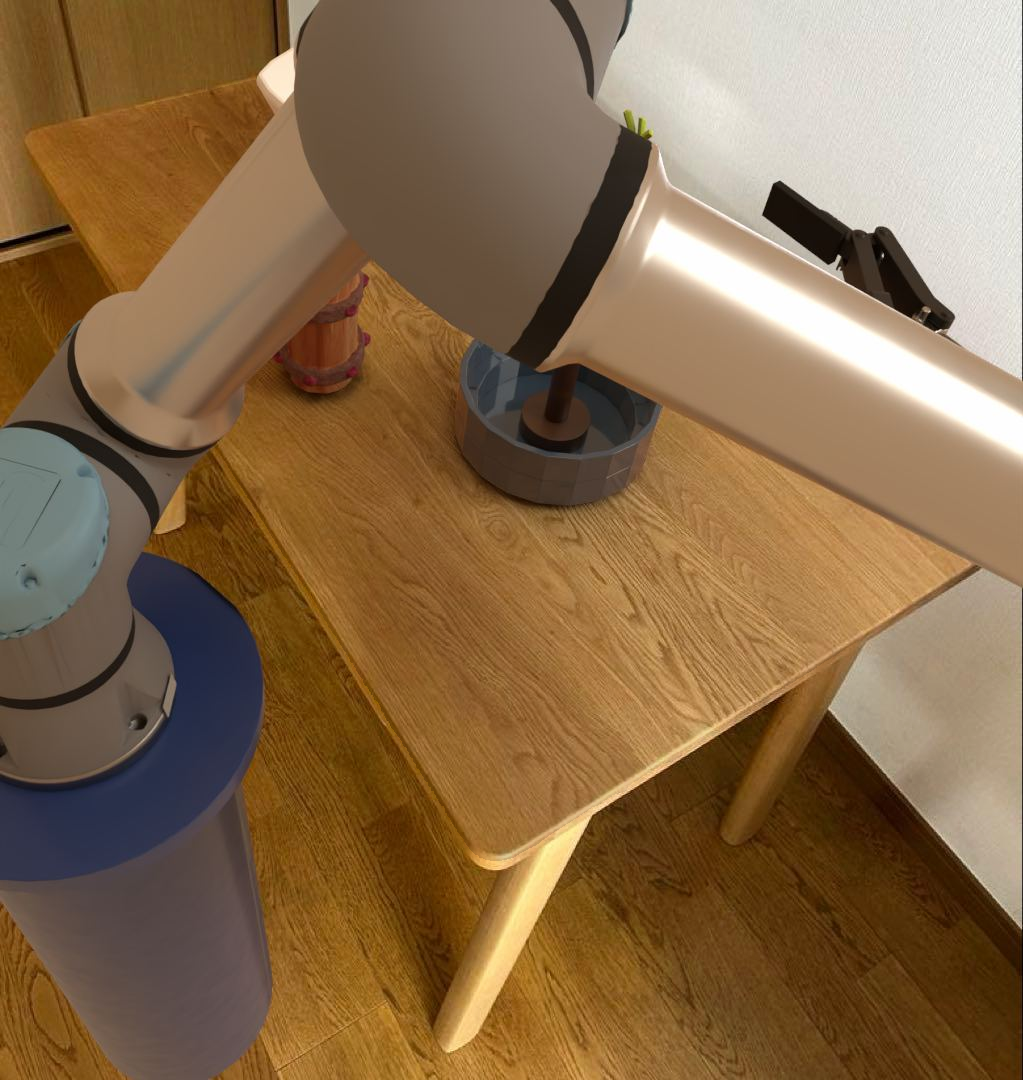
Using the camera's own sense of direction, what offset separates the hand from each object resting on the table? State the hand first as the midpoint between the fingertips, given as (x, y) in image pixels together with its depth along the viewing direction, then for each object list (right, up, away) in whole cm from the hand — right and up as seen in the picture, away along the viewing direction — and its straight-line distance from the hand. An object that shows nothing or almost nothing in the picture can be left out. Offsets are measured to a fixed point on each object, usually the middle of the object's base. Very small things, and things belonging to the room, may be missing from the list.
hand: (705, 227), depth 77 cm
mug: (-31, -4, +31) cm, 44 cm away
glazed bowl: (-10, -12, +28) cm, 31 cm away
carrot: (-2, +12, +47) cm, 49 cm away
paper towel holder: (-10, -11, +27) cm, 31 cm away
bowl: (-28, +19, +49) cm, 59 cm away
